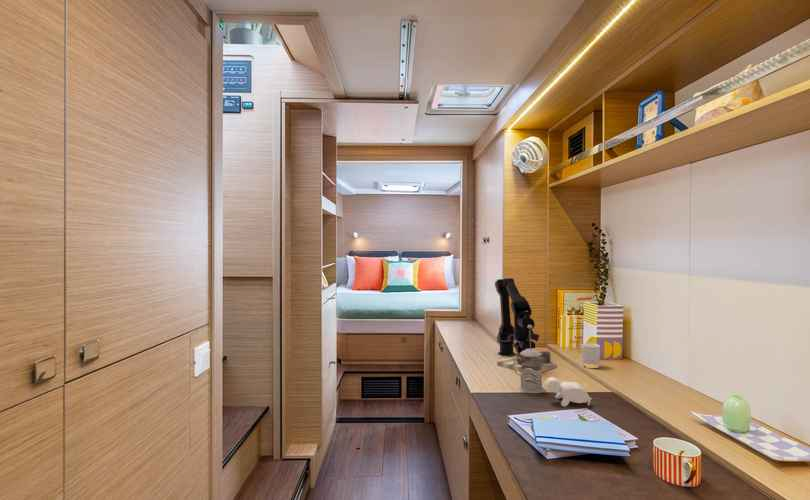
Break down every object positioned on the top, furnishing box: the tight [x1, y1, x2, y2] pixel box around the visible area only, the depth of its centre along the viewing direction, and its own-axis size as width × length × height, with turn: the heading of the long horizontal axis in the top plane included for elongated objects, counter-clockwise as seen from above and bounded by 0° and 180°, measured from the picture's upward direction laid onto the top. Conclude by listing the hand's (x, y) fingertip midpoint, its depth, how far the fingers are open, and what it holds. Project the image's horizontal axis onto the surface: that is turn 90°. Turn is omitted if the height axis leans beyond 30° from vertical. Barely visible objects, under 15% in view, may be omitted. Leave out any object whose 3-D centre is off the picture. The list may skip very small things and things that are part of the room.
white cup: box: [580, 342, 601, 365], centre depth 181 cm, size 8×8×10 cm
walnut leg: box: [515, 351, 551, 364], centre depth 182 cm, size 16×4×4 cm, turn 98°
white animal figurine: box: [545, 376, 592, 407], centre depth 139 cm, size 9×8×15 cm
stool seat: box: [496, 355, 558, 373], centre depth 184 cm, size 20×18×6 cm
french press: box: [513, 325, 546, 394], centre depth 153 cm, size 10×12×25 cm
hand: (521, 359), depth 185 cm, fingers closed
